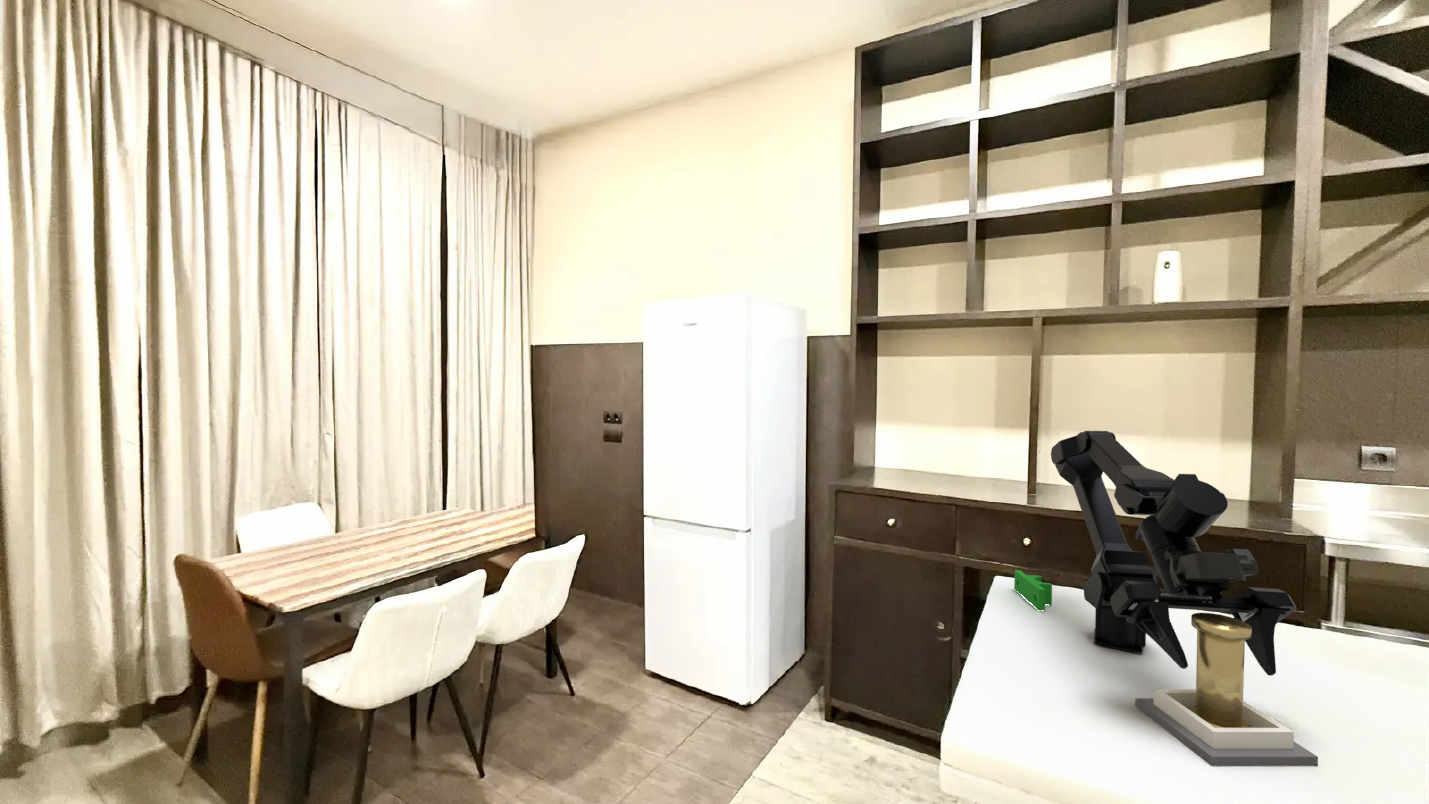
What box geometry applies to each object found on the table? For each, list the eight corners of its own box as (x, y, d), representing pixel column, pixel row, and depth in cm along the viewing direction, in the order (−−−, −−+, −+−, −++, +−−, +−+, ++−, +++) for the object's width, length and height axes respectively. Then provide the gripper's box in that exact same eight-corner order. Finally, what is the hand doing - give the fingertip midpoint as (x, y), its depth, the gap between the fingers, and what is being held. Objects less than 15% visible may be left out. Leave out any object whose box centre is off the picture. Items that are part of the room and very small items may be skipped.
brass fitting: (1178, 716, 73) (1180, 616, 72) (1206, 707, 74) (1209, 610, 74) (1230, 742, 67) (1233, 634, 67) (1259, 732, 69) (1262, 627, 69)
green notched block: (1059, 613, 108) (1059, 590, 108) (1038, 613, 109) (1039, 589, 108) (1032, 591, 119) (1033, 570, 119) (1014, 591, 120) (1014, 569, 119)
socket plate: (1211, 765, 65) (1212, 739, 65) (1135, 705, 77) (1135, 683, 77) (1317, 765, 65) (1318, 739, 65) (1224, 705, 77) (1225, 683, 77)
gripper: (1122, 521, 76) (1169, 639, 65) (1287, 527, 72) (1365, 653, 62) (1094, 561, 84) (1132, 672, 73) (1240, 568, 80) (1303, 686, 70)
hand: (1228, 671), depth 69 cm, fingers open, 9 cm apart
